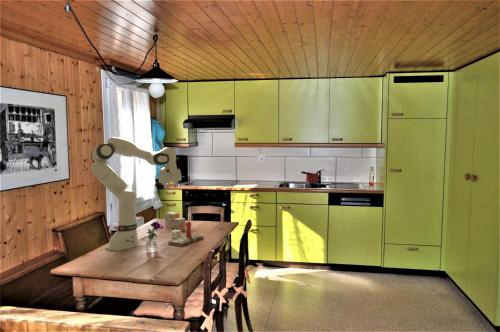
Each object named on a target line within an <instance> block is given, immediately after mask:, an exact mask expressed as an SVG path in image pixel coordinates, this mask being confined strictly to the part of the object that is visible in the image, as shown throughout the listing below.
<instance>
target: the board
mask: <svg viewBox="0 0 500 332" xmlns="http://www.w3.org/2000/svg"><path fill="white" fill-rule="evenodd" d="M191 235H192V238H186V235H184V236H181V237H180V238H177V239H176V238H173V239H171V240H169V241H167V244H168V245H171V246H176V247H185V246H187V244H188V245H190V244H193V243H196V242H198V241H201V240H203V239H204V235H200V234H193V233H191Z"/></svg>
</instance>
